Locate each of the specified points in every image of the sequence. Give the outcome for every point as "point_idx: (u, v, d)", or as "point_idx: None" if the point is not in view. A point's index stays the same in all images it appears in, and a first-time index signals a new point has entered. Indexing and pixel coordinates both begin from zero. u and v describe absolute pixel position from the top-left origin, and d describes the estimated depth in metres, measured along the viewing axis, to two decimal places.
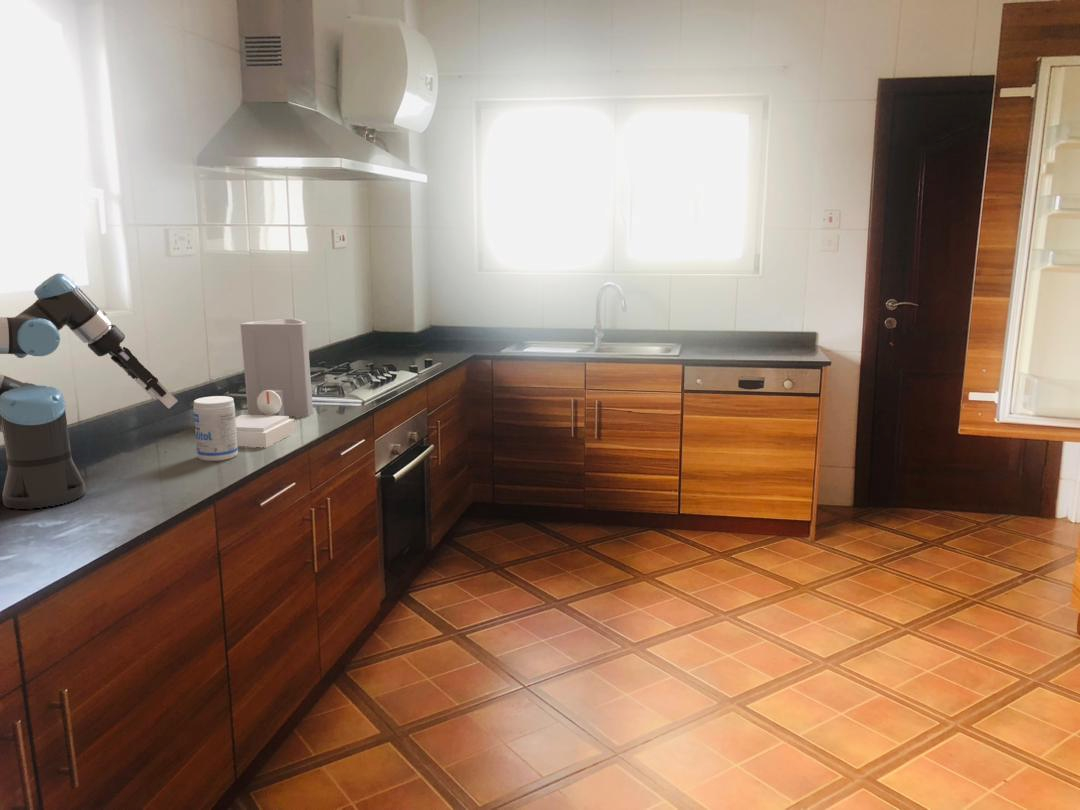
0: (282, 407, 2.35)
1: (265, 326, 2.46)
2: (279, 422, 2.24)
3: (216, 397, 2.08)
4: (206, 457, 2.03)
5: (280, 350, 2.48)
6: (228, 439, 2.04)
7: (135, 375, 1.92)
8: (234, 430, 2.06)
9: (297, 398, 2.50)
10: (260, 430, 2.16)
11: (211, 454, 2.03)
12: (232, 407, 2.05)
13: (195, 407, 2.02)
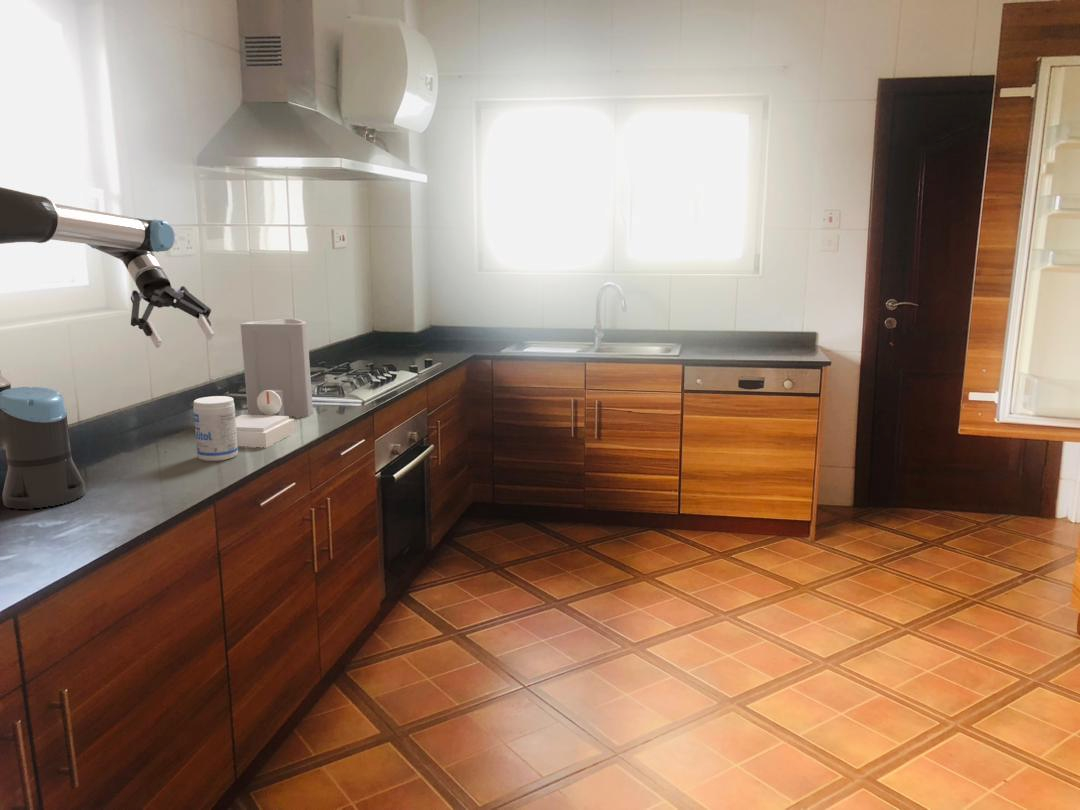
0: (282, 407, 2.35)
1: (265, 326, 2.46)
2: (279, 422, 2.24)
3: (216, 397, 2.08)
4: (206, 457, 2.03)
5: (280, 350, 2.48)
6: (228, 439, 2.04)
7: (186, 305, 2.13)
8: (234, 430, 2.06)
9: (297, 398, 2.50)
10: (260, 430, 2.16)
11: (211, 454, 2.03)
12: (232, 407, 2.05)
13: (195, 407, 2.02)
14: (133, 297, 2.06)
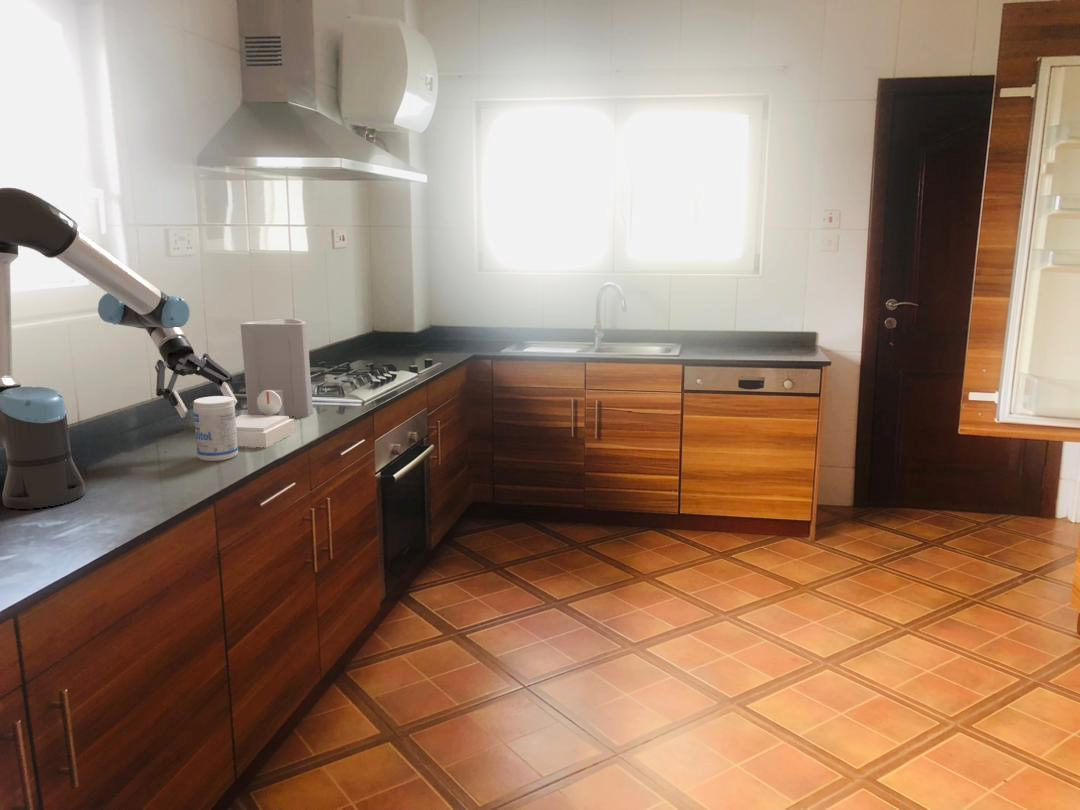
0: (282, 407, 2.35)
1: (265, 326, 2.46)
2: (279, 422, 2.24)
3: (216, 397, 2.08)
4: (206, 457, 2.03)
5: (280, 350, 2.48)
6: (228, 439, 2.04)
7: (210, 372, 2.15)
8: (234, 430, 2.06)
9: (297, 398, 2.50)
10: (260, 430, 2.16)
11: (211, 454, 2.03)
12: (232, 407, 2.05)
13: (195, 407, 2.02)
14: (158, 366, 2.08)
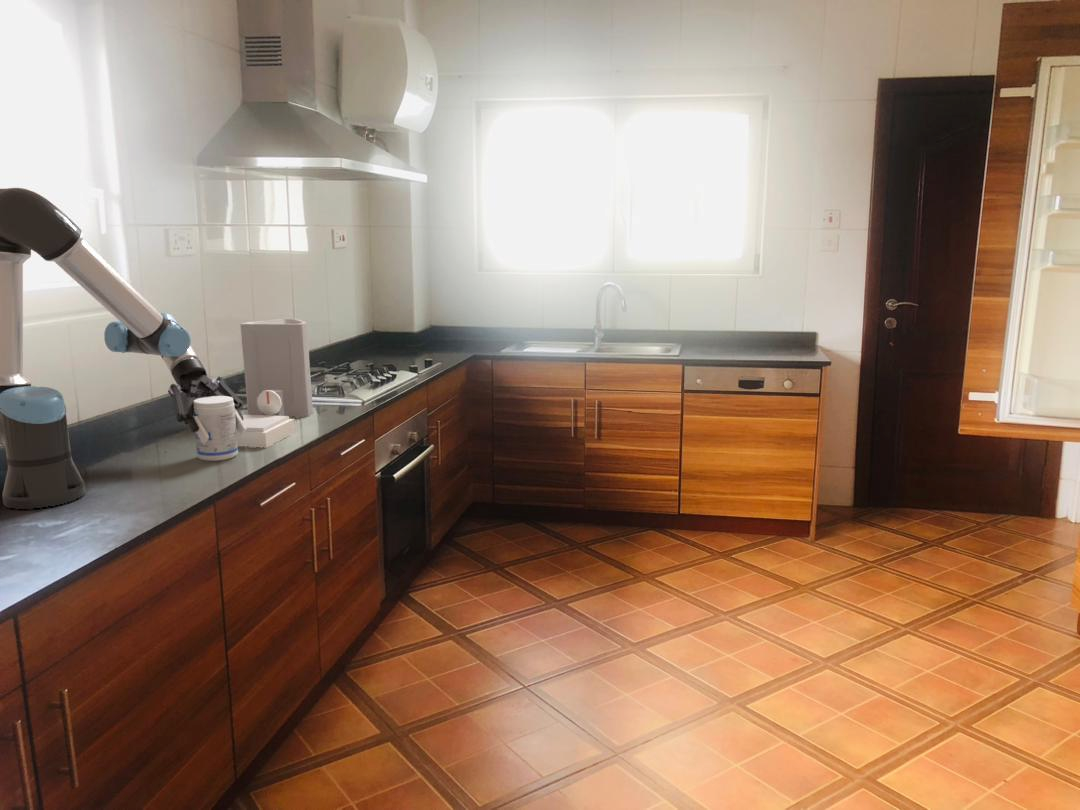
0: (282, 407, 2.35)
1: (265, 326, 2.46)
2: (279, 422, 2.24)
3: (216, 397, 2.07)
4: (206, 457, 2.03)
5: (280, 350, 2.48)
6: (228, 439, 2.04)
7: None
8: (234, 430, 2.06)
9: (297, 398, 2.50)
10: (260, 430, 2.16)
11: (211, 454, 2.03)
12: (232, 407, 2.05)
13: (195, 407, 2.02)
14: (172, 391, 2.03)
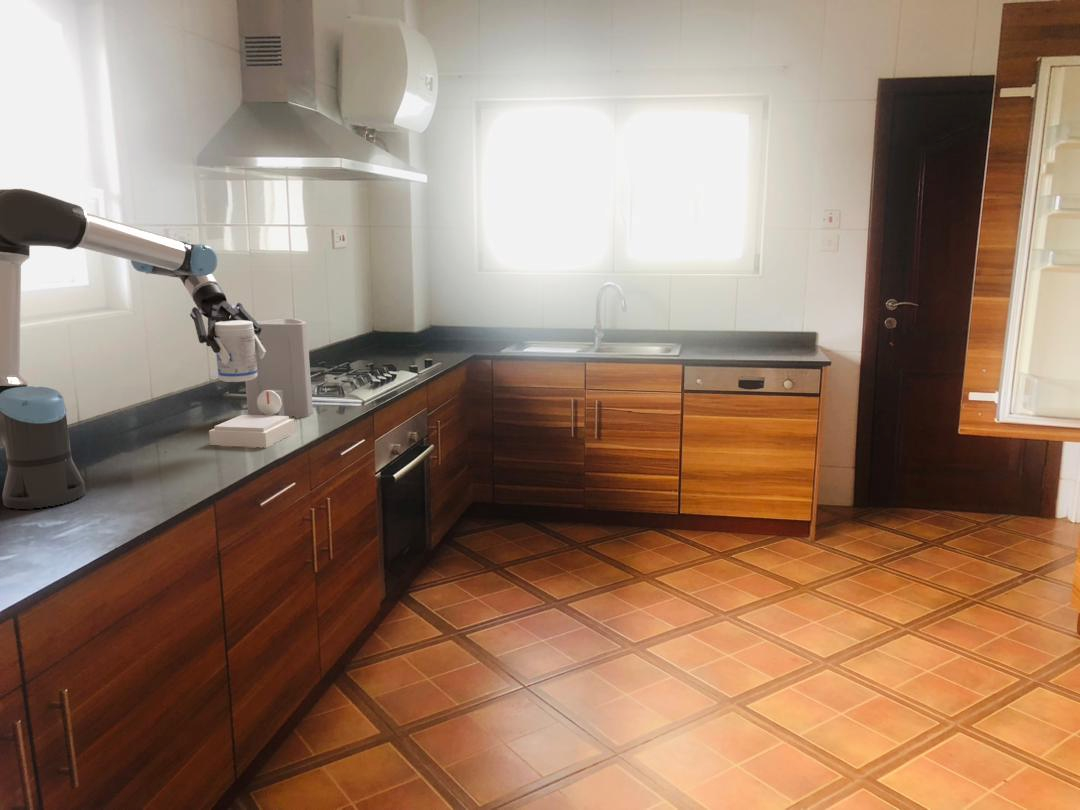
0: (282, 407, 2.35)
1: (265, 326, 2.46)
2: (279, 422, 2.24)
3: (236, 321, 2.15)
4: (227, 377, 2.11)
5: (280, 350, 2.48)
6: (248, 360, 2.12)
7: None
8: (254, 352, 2.14)
9: (297, 398, 2.50)
10: (260, 430, 2.16)
11: (231, 375, 2.11)
12: (251, 330, 2.12)
13: (216, 329, 2.09)
14: (194, 314, 2.11)
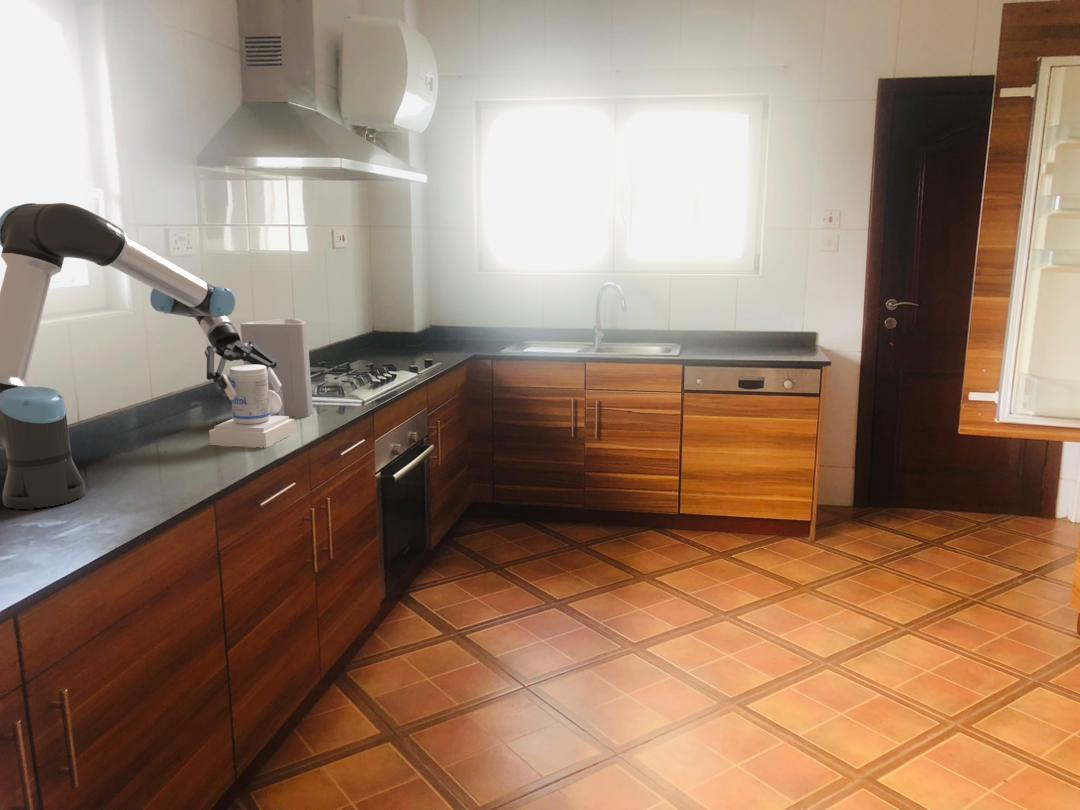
0: (282, 407, 2.35)
1: (265, 326, 2.46)
2: (279, 422, 2.24)
3: (250, 365, 2.23)
4: (241, 420, 2.19)
5: (280, 350, 2.48)
6: (261, 403, 2.20)
7: (255, 358, 2.26)
8: (267, 396, 2.22)
9: (297, 398, 2.50)
10: (260, 430, 2.16)
11: (246, 417, 2.19)
12: (265, 374, 2.21)
13: (231, 374, 2.18)
14: (208, 352, 2.19)
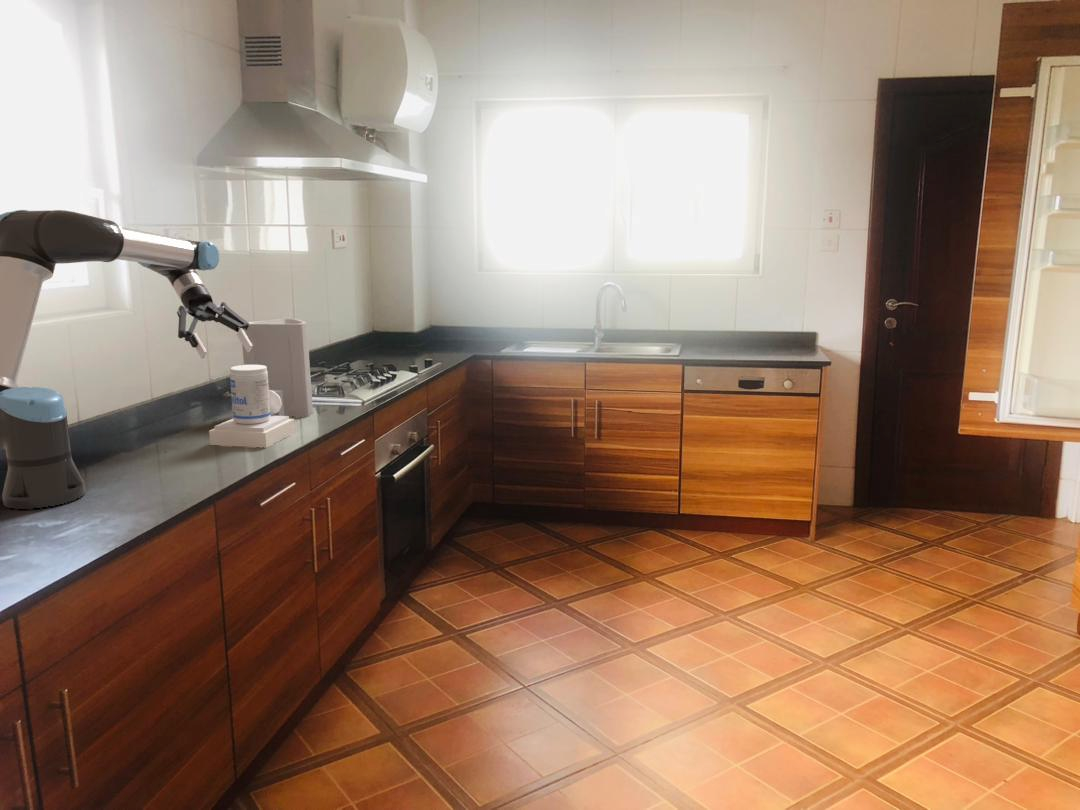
0: (282, 407, 2.35)
1: (265, 326, 2.46)
2: (279, 422, 2.24)
3: (250, 365, 2.24)
4: (241, 420, 2.19)
5: (280, 350, 2.48)
6: (262, 403, 2.20)
7: (227, 319, 2.32)
8: (267, 396, 2.22)
9: (297, 398, 2.50)
10: (260, 430, 2.16)
11: (246, 417, 2.19)
12: (266, 374, 2.21)
13: (232, 374, 2.18)
14: (180, 312, 2.25)
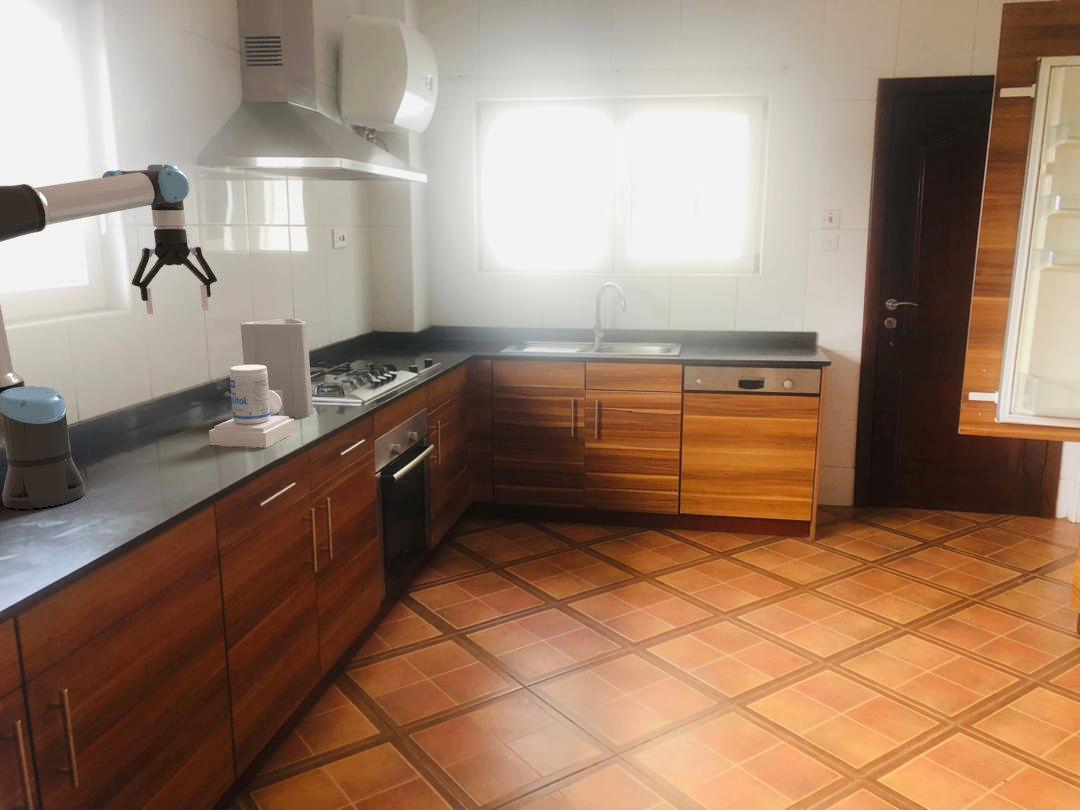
0: (282, 407, 2.35)
1: (265, 326, 2.46)
2: (279, 422, 2.24)
3: (250, 365, 2.24)
4: (241, 420, 2.19)
5: (280, 350, 2.48)
6: (261, 403, 2.20)
7: (194, 271, 2.15)
8: (267, 396, 2.22)
9: (297, 398, 2.50)
10: (260, 430, 2.16)
11: (246, 417, 2.19)
12: (265, 374, 2.21)
13: (231, 374, 2.18)
14: (143, 254, 2.08)
